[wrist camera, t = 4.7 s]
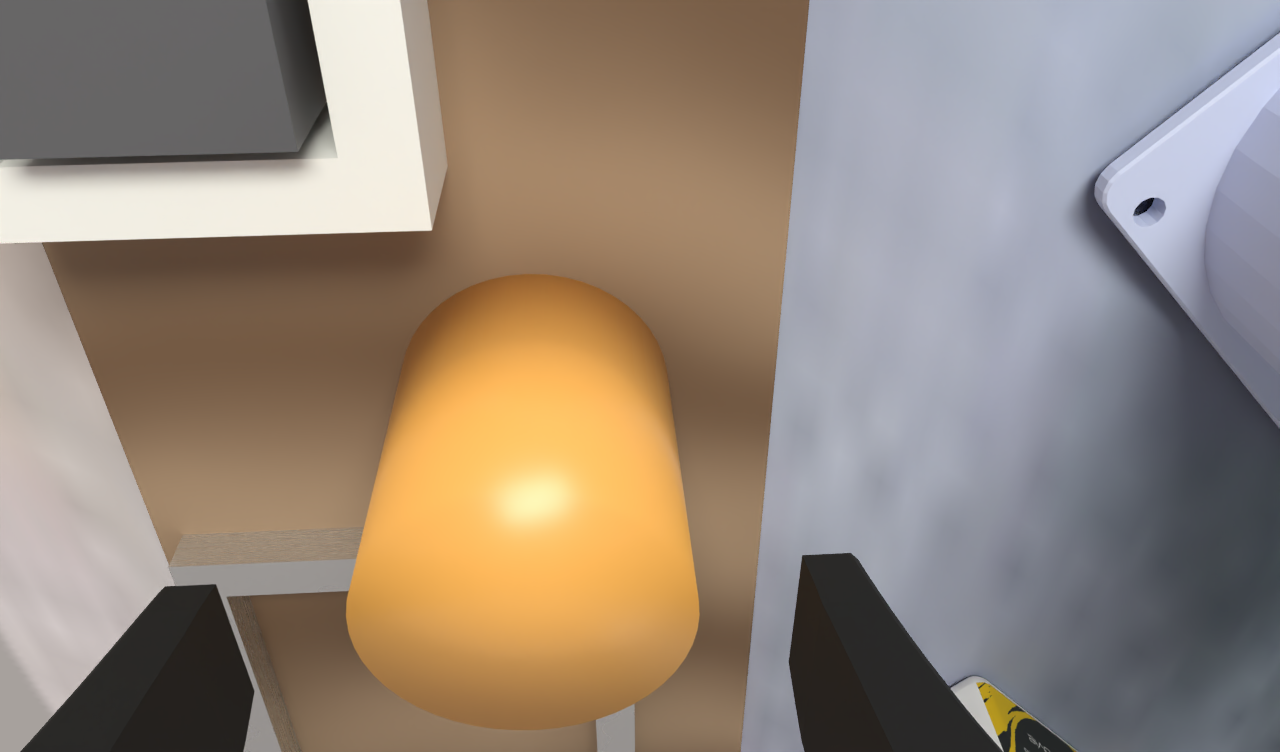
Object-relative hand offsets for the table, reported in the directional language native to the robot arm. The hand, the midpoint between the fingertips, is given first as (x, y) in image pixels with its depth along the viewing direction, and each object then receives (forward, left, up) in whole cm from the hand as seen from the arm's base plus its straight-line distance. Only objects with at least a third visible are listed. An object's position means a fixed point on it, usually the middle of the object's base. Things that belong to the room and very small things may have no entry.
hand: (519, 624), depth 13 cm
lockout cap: (0, 0, -5) cm, 5 cm away
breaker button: (+8, -2, -5) cm, 9 cm away
